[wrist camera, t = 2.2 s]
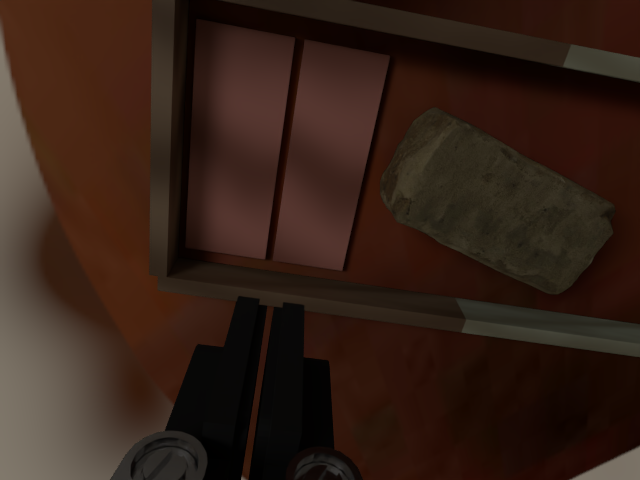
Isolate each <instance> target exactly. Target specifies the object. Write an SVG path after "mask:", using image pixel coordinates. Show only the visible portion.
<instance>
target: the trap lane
mask: <svg viewBox="0 0 640 480" xmlns="http://www.w3.org/2000/svg"><path fill="white" fill-rule="evenodd" d="M218 1H223V2H228V3H233V4H238V5H243V6H248V7H254V8H259V9H264V10H269V11H274V12H279V13H284V14H289V15H295V16H300V17H305V18H310V19H315V20H320V21H325V22H331V23H336V24H341V25H346V26H351V27H356V28H361V29H367V30H372V31H377V32H382V33H387V34H392V35H397V36H402V37H408V38H413V39H418V40H423V41H428V42H433V43H438V44H444V45H449V46H454V47H459V48H464V49H469V50H474V51H480V52H485V53H490V54H495V55H500V56H505V57H510V58H516V59H521V60H526V61H531V62H536V63H541V64H546V65H551V66H557V67H562V68H567V69H572V70H577V71H582V72H587V73H593V74H598V75H603V76H608V77H613V78H618V79H623V80H629V81H634V82H639V83H640V58H637V57H632V56H627V55H622V54H617V53H612V52H607V51H602V50H597V49H592V48H587V47H582V46H577V45H572V44H567V43H562V42H557V41H552V40H547V39H542V38H537V37H532V36H527V35H522V34H517V33H512V32H507V31H502V30H497V29H492V28H487V27H482V26H477V25H472V24H467V23H462V22H457V21H452V20H447V19H442V18H437V17H432V16H427V15H422V14H417V13H412V12H407V11H402V10H397V9H392V8H386V7H381V6H376V5H371V4H366V3H361V2H356V1H351V0H218ZM188 16H189V0H152V78H151V172H150V266H149V275H154V276H158V290H159V291H166V292H173V293H180V294H188V295H195V296H202V297H209V298H217V299H224V300H231V301H237V298H238V296H243V297H251V298H258V299H260V302H259V304H260V305H267V306H274V307H282V306H283V302H288V303H295V304H302V305H304V307H305V308H304V311H311V312H318V313H325V314H332V315H340V316H347V317H354V318H361V319H368V320H376V321H383V322H390V323H397V324H405V325H412V326H419V327H426V328H434V329H441V330H448V331H455V332H463V333H470V334H477V335H484V336H492V337H499V338H506V339H513V340H520V341H528V342H535V343H542V344H549V345H557V346H564V347H571V348H578V349H586V350H593V351H600V352H607V353H615V354H622V355H629V356H636V357H640V324H633V323H626V322H619V321H613V320H606V319H599V318H592V317H585V316H578V315H571V314H564V313H557V312H550V311H543V310H537V309H530V308H523V307H516V306H509V305H502V304H495V303H488V302H481V301H474V300H468V299H461V298H454V297H447V296H440V295H433V294H426V293H419V292H412V291H405V290H399V289H392V288H385V287H378V286H371V285H364V284H357V283H350V282H343V281H336V280H330V279H323V278H316V277H309V276H302V275H295V274H288V273H281V272H274V271H267V270H260V269H254V268H247V267H240V266H233V265H226V264H219V263H212V262H205V261H198V260H191V259H185V258H178V254H179V230H180V206H181V182H182V159H183V135H184V111H185V87H186V63H187V40H188ZM294 45H295V37H290V36H285V35H280V34H274V33H269V32H264V31H259V30H253V29H248V28H243V27H238V26H232V25H227V24H222V23H217V22H211V21H206V20H201V19H196V39H195V59H194V80H193V100H192V120H191V141H190V161H189V182H188V202H187V222H186V243H185V248H190V249H197V250H204V251H211V252H217V253H224V254H231V255H238V256H245V257H251V258H258V259H265V257H266V249H267V242H268V235H269V227H270V220H271V213H272V205H273V198H274V191H275V184H276V176H277V169H278V162H279V154H280V147H281V140H282V132H283V125H284V118H285V111H286V103H287V96H288V89H289V81H290V74H291V67H292V59H293V52H294ZM389 59H390V55H385V54H380V53H374V52H369V51H364V50H359V49H353V48H348V47H343V46H337V45H332V44H327V43H322V42H316V41H311V40H306V39H305V42H304V49H303V56H302V63H301V70H300V76H299V83H298V90H297V97H296V104H295V111H294V118H293V125H292V131H291V138H290V145H289V152H288V159H287V166H286V173H285V180H284V186H283V193H282V200H281V207H280V214H279V221H278V228H277V235H276V241H275V248H274V255H273V261H279V262H285V263H292V264H299V265H306V266H313V267H319V268H326V269H333V270H340V271H342V269H343V265H344V260H345V256H346V251H347V247H348V243H349V238H350V234H351V229H352V225H353V220H354V216H355V211H356V207H357V202H358V198H359V193H360V189H361V184H362V180H363V176H364V171H365V167H366V162H367V158H368V153H369V149H370V144H371V140H372V135H373V131H374V126H375V122H376V117H377V113H378V109H379V104H380V100H381V95H382V91H383V86H384V82H385V77H386V73H387V68H388V64H389Z"/></svg>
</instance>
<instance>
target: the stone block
mask: <svg viewBox="0 0 640 480" xmlns="http://www.w3.org/2000/svg"><path fill="white" fill-rule="evenodd" d="M380 194H381V197H382V200H383V202H384V203H385V205H386V207H387V208H388V209H389V210H390V211H391V212H392V214H393V216H394V218H395V220H396V221H397V222H399V223H401V224H404V225H407V226H410V227H412V228H415V229H417V230H419V231H421V232H423V233H425V234H427V235H429V236H431V237H432V238H434V239H435V240H436V241H438V242H439V243H441V244H443V245H446V246H448V247H450V248H452V249H455V250H457V251H459V252H461V253H463V254H465V255H467V256H469V257H471V258H473V259H475V260H477V261H479V262H481V263H483V264H485V265H487V266H489V267H491V268H493V269H495V270H497V271H499V272H501V273H503V274H505V275H508V276H510V277H512V278H514V279H517V280H519V281H522V282H524V283H527V284H529V285H531V286H533V287H535V288H537V289H539V290H541V291H543V292H545V293H548V294H559V293H561V292H563V291H565V290H566V289H568V288H569V287H570V286H572V284H573V283H574V282H575V281H576V280H577V279H578V277H579V276H580V274H581V273H582V272H583V271H584V270H585V269H586V268H587V267H588V266H589V265H590V264H591V262H592V260H593V258H594V256H595V255H596V253H597V252H598V251H599V249H600V248H601V247H602V246H603V245H604V243H605V242H606V241H607V240H608V238H609V237H610V236H611V235H612V234H613V230H612V226H611V219H612V217H613V215H614V213H615V207H614V205H613V204H612V203H610V202H609V201H607V200H605V199H604V198H602V197H600V196H598V195H596V194H595V193H593V192H591V191H589V190H587V189H586V188H584V187H582V186H580V185H578V184H577V183H575V182H573V181H571V180H569V179H568V178H566V177H564V176H562V175H560V174H559V173H557V172H555V171H553V170H551V169H549V168H547V167H545V166H543V165H541V164H539V163H537V162H535V161H533V160H531V159H529V158H527V157H526V156H524V155H522V154H520V153H518V152H517V151H515V150H513V149H512V148H510V147H509V146H507V145H505V144H504V143H502V142H500V141H498V140H497V139H495V138H493V137H492V136H490V135H489V134H487V133H485V132H484V131H482V130H481V129H479V128H477V127H475V126H473V125H472V124H470V123H467V122H465V121H463V120H461V119H459V118H457V117H455V116H453V115H451V114H448V113H446V112H444V111H442V110H440V109H438V108H435V107H434V108H432V109H430V110H428V111H426V112H425V113H423V114H422V115H421V116H419V117H418V118H417V119H415V120H414V121H413V123H412V125H411V126H410V128H409V129H408V131H407V133H406V135H405V137H404V139H403V140H402V141H401V142H400V143H399V144H398V146H397V149H396V151H395V154H394V157H393V159H392V161H391V162H390V164H389V166H388V168H387V169H386V170H385V171H384V173H383V175H382V177H381V181H380Z"/></svg>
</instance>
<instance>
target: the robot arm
mask: <svg viewBox="0 0 640 480" xmlns="http://www.w3.org/2000/svg"><path fill="white" fill-rule="evenodd" d="M259 302H260V299H258V298H251V297H243V296H238V298H237V302H236V305H235V309H234V313H233V316H232V320H231V323H230V327H229V331H228V334H227V338H226V341H225V345H224V347H217V346H209V345H201V344H198V345H197V346H196V348H195V350H194V353H193V356H192V358H191V361H190V364H189V366H188V369H187V372H186V375H185V377H184V380H183V383H182V385H181V388H180V391H179V394H178V396H177V399H176V402H175V404H174V407H173V410H172V413H171V415H170V418H169V421H168V423H167V426H166V429H165V431H163V432H157V433H154V434H152V435H149V436H147V437H145V438H143V439H142V440H140V441H139V442H138V443H136V444H135V445H134V446H133V447H132V448H131V449H130V450H129V452H128V453H127V454H126V455H125V457H124V458H123V460H122V461H121V463H120V465H119V466H118V468H117V470H116V471H115V473H114V474H113V476H112V477H111V479H110V480H241V476H242V470H243V463H244V457H245V450H246V444H247V438H248V431H249V425H250V419H251V412H252V406H253V399H254V393H255V386H256V379H257V372H258V366H259V359H260V352H261V345H262V338H263V332H264V325H265V318H266V311H267V305H260V304H259ZM304 308H305V307H304V305H302V304H295V303H288V302H283V306H282V307H274V311H273V317H272V323H271V330H270V336H269V343H268V349H267V356H266V362H265V369H264V375H263V382H262V388H261V395H260V402H259V409H258V416H257V423H256V431H255V438H254V445H253V452H252V459H251V467H250V474H249V480H363V478H362V476H361V474H360V471H359V469H358V467H357V466H356V465H355V464H354V463H353V461H352V460H351V459H350V458H349V457H347V456H346V455H344V454H343V453H342V452H340V451H337V450H335V449H334V436H333V419H332V401H331V384H330V367H329V361H328V360H321V359H313V358H305V357H303V355H304Z"/></svg>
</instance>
